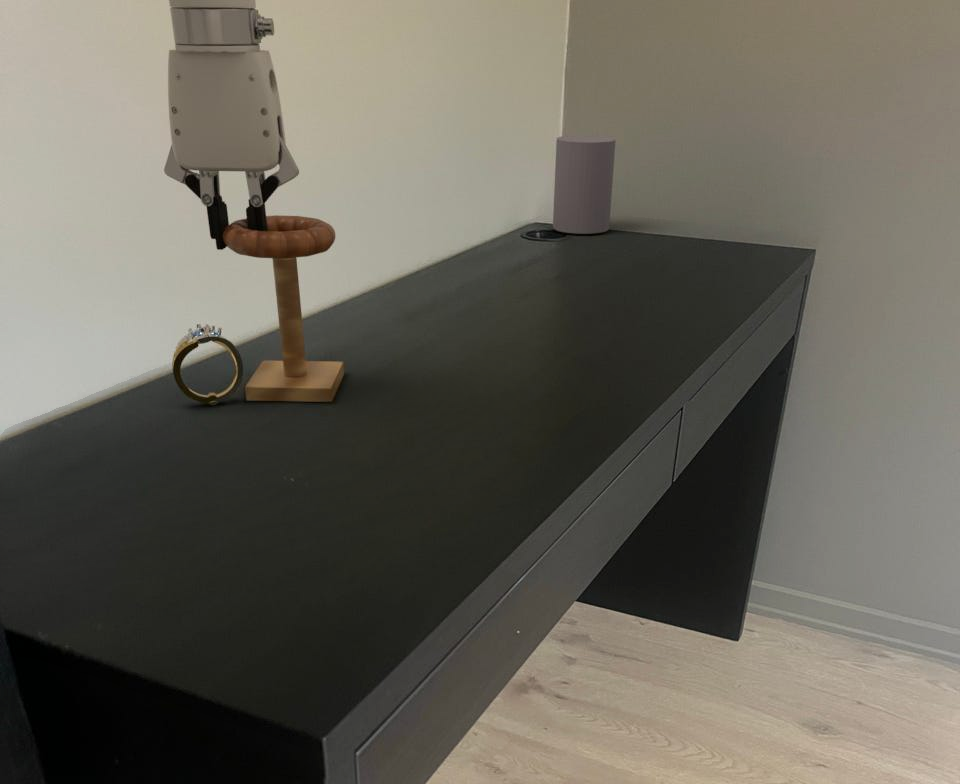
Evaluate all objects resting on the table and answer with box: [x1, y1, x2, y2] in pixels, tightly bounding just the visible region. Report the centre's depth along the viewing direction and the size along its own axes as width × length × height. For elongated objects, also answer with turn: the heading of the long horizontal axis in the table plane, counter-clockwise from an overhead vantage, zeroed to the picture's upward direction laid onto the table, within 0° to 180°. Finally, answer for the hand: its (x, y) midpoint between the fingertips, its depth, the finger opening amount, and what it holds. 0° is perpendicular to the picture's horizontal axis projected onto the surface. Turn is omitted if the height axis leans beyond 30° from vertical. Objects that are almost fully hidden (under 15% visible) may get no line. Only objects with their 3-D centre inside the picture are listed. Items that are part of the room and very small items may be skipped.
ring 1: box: [171, 323, 244, 406], centre depth 100 cm, size 7×3×8 cm, turn 107°
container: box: [552, 134, 617, 236], centre depth 177 cm, size 10×10×15 cm
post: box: [244, 257, 345, 403], centre depth 103 cm, size 9×9×14 cm
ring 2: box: [223, 214, 336, 259], centre depth 98 cm, size 11×11×2 cm
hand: (240, 245), depth 99 cm, fingers closed on ring 2, 2 cm apart
